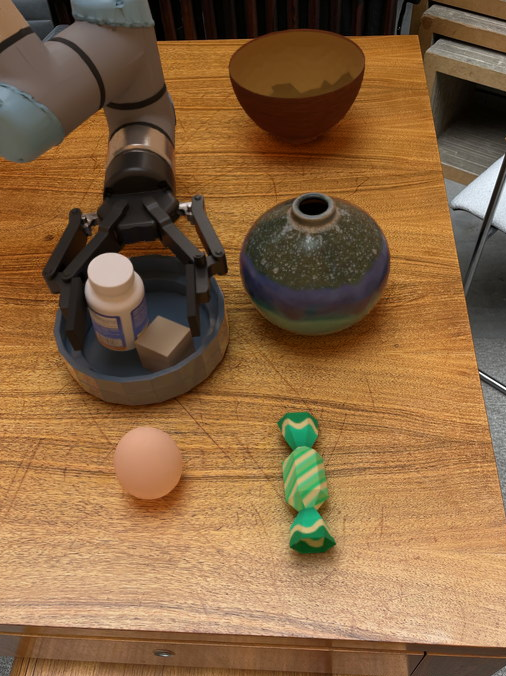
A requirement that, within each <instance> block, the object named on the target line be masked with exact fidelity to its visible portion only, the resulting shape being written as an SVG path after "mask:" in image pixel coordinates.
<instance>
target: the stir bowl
mask: <svg viewBox="0 0 506 676" xmlns="http://www.w3.org/2000/svg"><path fill="white" fill-rule="evenodd" d="M127 258H128V259H129V260H130V262H131V263H132V266H133V269H134V271H135V272H136V273H137V274H138V275H139V276H140V278H141V279H142V282H143V285H144V290H145V297H146V304H147V311H148V318H149V325H150V324H151V323H152V322H153V321H154V320H155V318H156V317H157V316H158V315H159V316H161V317H163V318H166V319H168V320H171V321H173V322H175V323H178V324H180V325H183V326H185V327H187V328H190V327H189V323H188V319H187V300H186V267H185V266H184V265H183V264H182V263H181V261H180V260H179V259H178V258H177V257H176V256H175V255H167V254H158V253H154V254H153V253H152V254H143V255H134V256H128V257H127ZM221 288H222V287H220V285H219V283H218V281H217V279H216V277H215V276H214V275H213V276H212V277H211V278H210V295H211V299H210V301H209V303H203V304H199V311H200V335H201V336H199V337H193V341H194V345H195V349H196V352H194V353H193V354H192V355H190V356H189V357H187V358H186V359H184V360H183V361H181V362H180V363H178V364H177V365H175V366H172V367H169V368H167V369H164V370H161V371H158V372H156V373H155V372H152V371H150V370H148V369H146V368H144V367H143V366H142V363H141V360H140V357H139V354H138V352H137V349H136V348H134V349H132V350H128V351H114V350H110V349H108V348H106V347H105V346H103V345H102V344H101V343H100V342H99V340H98V338H97V336H96V334H95V330H94V327H93V323H92V319H91V316H90V312H89V309H88V308H87V318H86V327H85V336H84V346H83V350H80V351H74V349H73V347H72V345H71V343H70V341H69V339H68V337H67V335H66V333H65V325H66V319H65V318H64V316H63V314H62V312H61V310H60V307H59V306H58V309H57V311H56V313H55V320H54V326H53V336H54V340H55V344H56V347H57V351H58V353H59V355H60V357H61V359H62V360H63V362H64V364H65V366H66V368H67V370H68V372H69V373H70V376H71V377H72V378H73V379H74V380H75V382H76V383H77V384H78V385H79V386H80V387H81V389H83V391H85V392H87V393H88V394H90V395H92V396H94V397H96V398H98V399H100V400H102V401H104V402H106V403H113V404H119V405H125V406H142V405H143V406H144V405H150V404H151V405H152V404H159V403H163V402H166V401H167V400H170V399H173V398H175V397H176V398H177V397H178V396H181V395H184V394H185V393H189V391H190V390H192V389H193V388H195V387H196V386H198V385H199V384H200V383H202V382H203V381H205V380H207V379H208V377H209V376H211V373H212V372H213V371H214V370H215V369H216V367H217V366H218V365H219V364H220V363H221V361H222V360H223V358H224V355H225V353H226V350H227V347H228V344H229V341H230V327H229V326H230V325H229V323H230V322H229V316H228V309H227V304H226V299H225V294H224V292H223V290H222V289H221Z"/></svg>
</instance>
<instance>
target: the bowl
mask: <svg viewBox="0 0 506 676" xmlns="http://www.w3.org/2000/svg"><path fill="white" fill-rule="evenodd" d="M227 67H228V74H229V80H230V84H231V87H232V90H233V93H234V95H235V97H236V100H237V101H238V103H239V105H240V107H241V108H242V110H243V111H244V112H245V114H246V115H247V116H248V118H249V119H250V120H251V121H252V122H253V123H254V124H255V125H256V126H257V127H259V128H260V129H261V130H263V131H264V132H266V133H268V134H270V135H272V136H274V137H277V138H279V139H280V140H281V141H283V142H285V143H288V144H291V145H292V144H293V145H302V144H307V143H310V142H313V141H315V140H316V139H317V138H319V137H320V135H322V134H325V133H327V132H328V131H330V130H331V129H333V128H334V127H335V126H337V125H339V124H340V122H341V121H342V120H343V119H344V118H345V116H346V115H347V114H348V112H349V111H350V109H351V107H352V106H353V104H355V101H356V99H357V98H358V95H359V93H360V91H361V88H362V84H363V81H364V75H365V71H366V55H365V53H364V51H363V49H362V48H361V47H360V46H359V45H358V44H357V43H356V42H355V41H353V40H352V39H350V38H348V37H346V36H345V35H341V34H338V33H335V32H333V31H329V30H323V29H312V28H295V29H291V28H290V29H284V30H283V29H282V30H277V31H273V32H269V33H266V34H263V35H260V36H257V37H255V38H252V39H251V40H249V41H247V42H245V43H243V44H242V45H241V46H239V48H237V49H236V50H235V51H234V53H233V54H232V55H231V57H230V58H229V63H228V65H227Z"/></svg>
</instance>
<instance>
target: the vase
mask: <svg viewBox="0 0 506 676" xmlns="http://www.w3.org/2000/svg"><path fill="white" fill-rule="evenodd" d="M240 247H241V248H240V252H239V258H238V267H239V276H240V281H241V284H242V288H243V290H244V292H245V294H246V296H247V298H248V300H249V302H250V303H251V305H252V306H253V307H254V308H255V310H256V311H257V312H258V313H259V314H260V315H261V316H262V317H263V318H264V319H265V320H267V321H268V322H269V323H271V324H272V325H274V326H276V327H278V329H279V328H280V329H282V330H283V331H286V332H289V333H292V334H296V335H301V336H311V337H317V336H327V335H332V334H336V333H339V332H342V331H345V330H347V329H349V328H351V327H352V326H354V325H356V324H357V323H359V322H361V320H363V319H365V317H367V316H368V315H369V314H370V313H371V311H372V310H373V309H374V308H375V307H376V306H377V304H378V303H379V302H380V300H381V298H382V296H383V294H384V292H385V290H386V288H387V285H388V281H389V278H390V273H391V252H390V246H389V243H388V239H387V237H386V234H385V233H384V231H383V228H382V227H381V226H380V224H379V223H378V222H377V221H376V219H375V218H374V217H373V216H372V215H371V214H369V213H368V212H367V211H366V210H365V209H364V208H362V207H360V206H359V205H357V204H355V203H353V202H351V201H350V200H346V199H344V198H341V197H337V196H332V195H327V194H325V193H322V192H315V191H313V192H306V193H303V194H300V195H299V196H295V197H292V198H289V199H285V200H282V201H281V202H278V203H277V204H275V205H273V206H271V207H269V208H268V209H267V210H265V211H264V212H262V214H261V215H260V216H258V218H257V219H255V221H254V222H253V223H252V225H251V226H250V227H249V229H248V230H247V231H246V234H245V236H244V238H243V241H242V243H241V246H240Z"/></svg>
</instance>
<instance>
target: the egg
mask: <svg viewBox="0 0 506 676" xmlns="http://www.w3.org/2000/svg"><path fill="white" fill-rule="evenodd" d="M181 452H182V451H181V450H180V448H179V446H178V444H177V442H176V441H175V440H174V439H173V437H172V436H171V435H170V434H168V433H167V432H165V431H163V430H161V429H159V428H156V427H152V426H137V427H136V428H133V429H131V430H129V431H127V432H126V433H125V434H124V435H123V436H122V437H121V438H120V440H119V441H118V442H117V445H116V447H115V450H114V454H113V461H112V463H113V471H114V474H115V477H116V479H117V481H118V483H119V485H120V486H121V487H122V488H123V489H124V491H126V492H127V493H128V494H130V495H131V496H133V497H136V498H138V499H140V500H156V499H160V498H163V497H164V496H166V495H168V494H169V493H171V491H173V490H174V489H175V487H176V486H178V484H179V482H180V480H181V477H182V474H183V468H184V460H183V455H182V453H181Z"/></svg>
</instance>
